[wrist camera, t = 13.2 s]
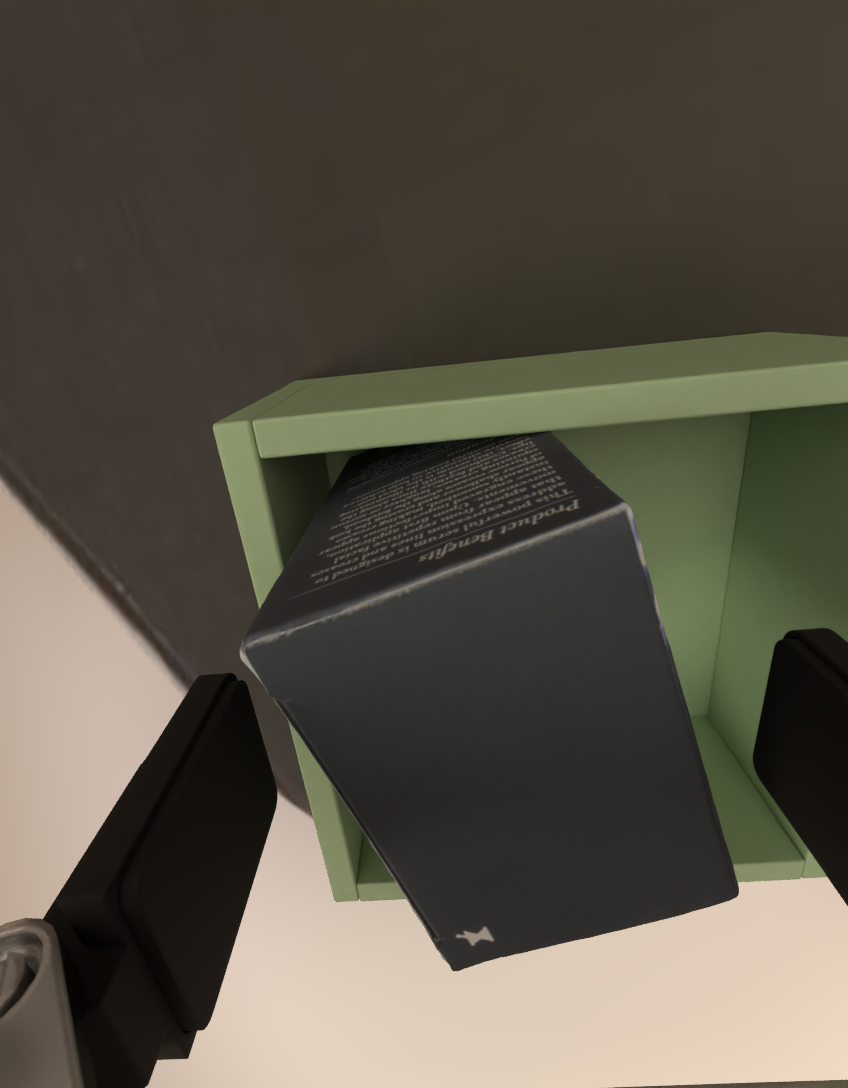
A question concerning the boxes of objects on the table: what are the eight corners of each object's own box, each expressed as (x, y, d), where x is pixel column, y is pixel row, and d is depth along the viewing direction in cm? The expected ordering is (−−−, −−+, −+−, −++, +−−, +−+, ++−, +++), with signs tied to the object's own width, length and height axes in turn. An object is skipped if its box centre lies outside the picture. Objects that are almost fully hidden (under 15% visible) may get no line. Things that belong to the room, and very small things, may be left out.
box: (585, 598, 19) (751, 909, 9) (435, 649, 20) (439, 980, 10) (513, 384, 16) (643, 500, 6) (341, 455, 17) (218, 655, 7)
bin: (361, 735, 23) (333, 903, 16) (294, 380, 17) (209, 424, 10) (713, 711, 22) (829, 878, 15) (770, 331, 16) (995, 345, 10)
